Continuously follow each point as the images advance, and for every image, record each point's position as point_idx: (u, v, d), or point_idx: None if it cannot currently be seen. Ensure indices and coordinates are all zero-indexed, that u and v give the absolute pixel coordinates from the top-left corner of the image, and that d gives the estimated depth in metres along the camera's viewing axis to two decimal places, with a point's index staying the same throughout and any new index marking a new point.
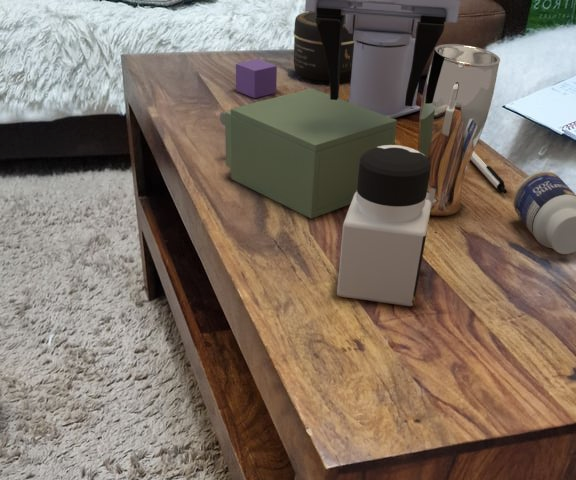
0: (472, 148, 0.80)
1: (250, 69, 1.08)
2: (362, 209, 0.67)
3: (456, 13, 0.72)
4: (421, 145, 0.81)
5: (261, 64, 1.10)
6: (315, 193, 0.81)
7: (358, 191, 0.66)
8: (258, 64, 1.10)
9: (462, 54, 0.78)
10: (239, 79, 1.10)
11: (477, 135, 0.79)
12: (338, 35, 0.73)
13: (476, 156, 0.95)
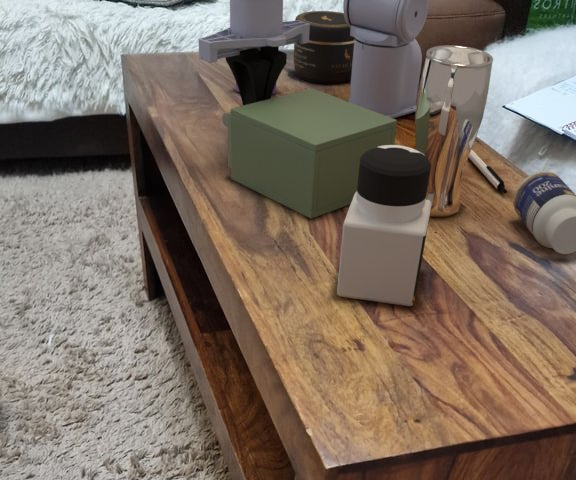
0: (469, 148, 0.80)
1: None
2: (362, 209, 0.67)
3: (308, 35, 0.88)
4: (417, 147, 0.81)
5: None
6: (315, 193, 0.81)
7: (358, 191, 0.66)
8: None
9: (455, 55, 0.78)
10: None
11: (473, 135, 0.79)
12: (267, 72, 0.85)
13: (476, 156, 0.95)
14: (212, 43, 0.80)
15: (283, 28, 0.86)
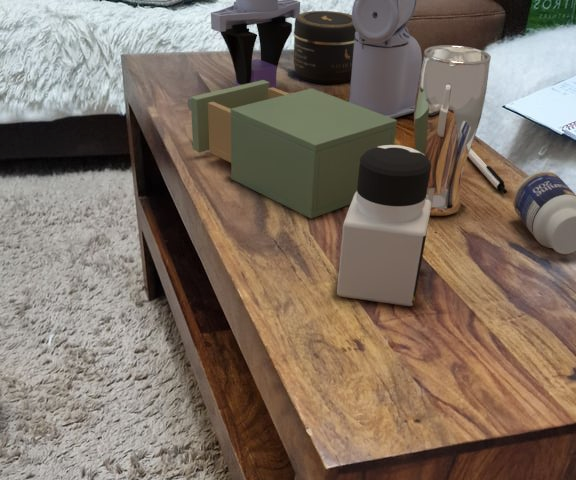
0: (467, 147, 0.80)
1: None
2: (362, 209, 0.67)
3: None
4: (416, 146, 0.81)
5: (261, 64, 1.10)
6: (315, 193, 0.81)
7: (358, 191, 0.66)
8: (258, 64, 1.10)
9: (454, 55, 0.79)
10: None
11: (471, 133, 0.79)
12: (258, 30, 1.09)
13: (476, 156, 0.95)
14: (289, 0, 1.09)
15: None
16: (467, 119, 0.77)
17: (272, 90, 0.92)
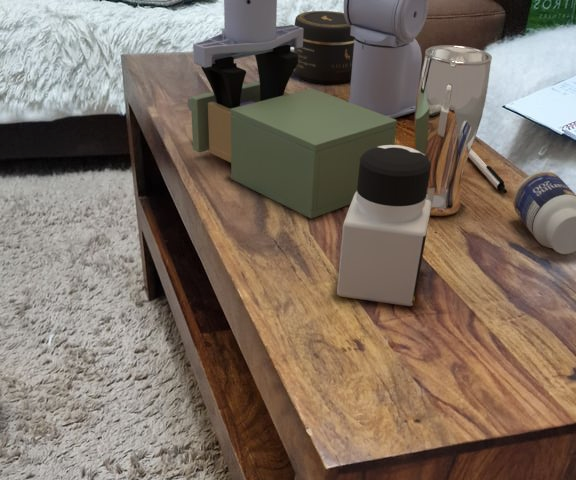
0: (467, 147, 0.80)
1: None
2: (362, 209, 0.67)
3: None
4: (416, 145, 0.81)
5: None
6: (315, 193, 0.81)
7: (358, 191, 0.66)
8: None
9: (457, 55, 0.79)
10: None
11: (471, 134, 0.79)
12: (257, 62, 0.90)
13: (476, 156, 0.95)
14: None
15: None
16: (467, 119, 0.77)
17: None
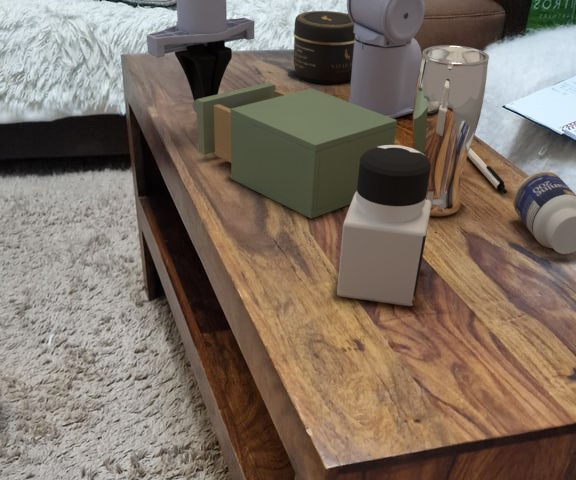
0: (465, 147, 0.80)
1: None
2: (362, 209, 0.67)
3: None
4: (414, 146, 0.81)
5: None
6: (315, 193, 0.81)
7: (358, 191, 0.66)
8: None
9: (455, 55, 0.78)
10: None
11: (469, 134, 0.79)
12: None
13: (476, 156, 0.95)
14: None
15: (174, 34, 0.88)
16: (464, 120, 0.77)
17: (278, 92, 0.92)
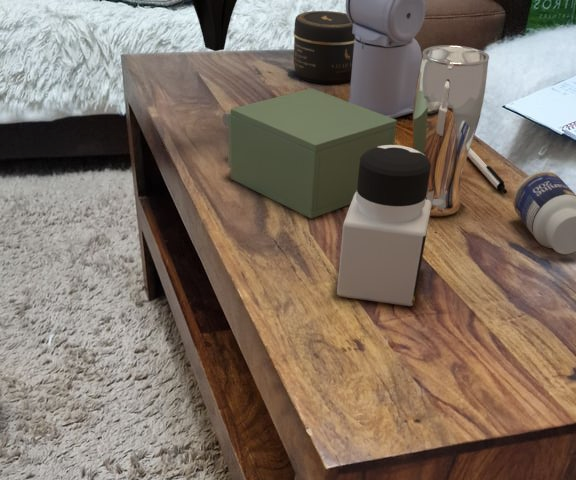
0: (465, 148, 0.80)
1: None
2: (362, 209, 0.67)
3: None
4: (414, 146, 0.81)
5: None
6: (315, 193, 0.81)
7: (358, 191, 0.66)
8: None
9: (456, 55, 0.78)
10: None
11: (468, 134, 0.79)
12: None
13: (476, 156, 0.95)
14: None
15: None
16: (463, 120, 0.77)
17: None
